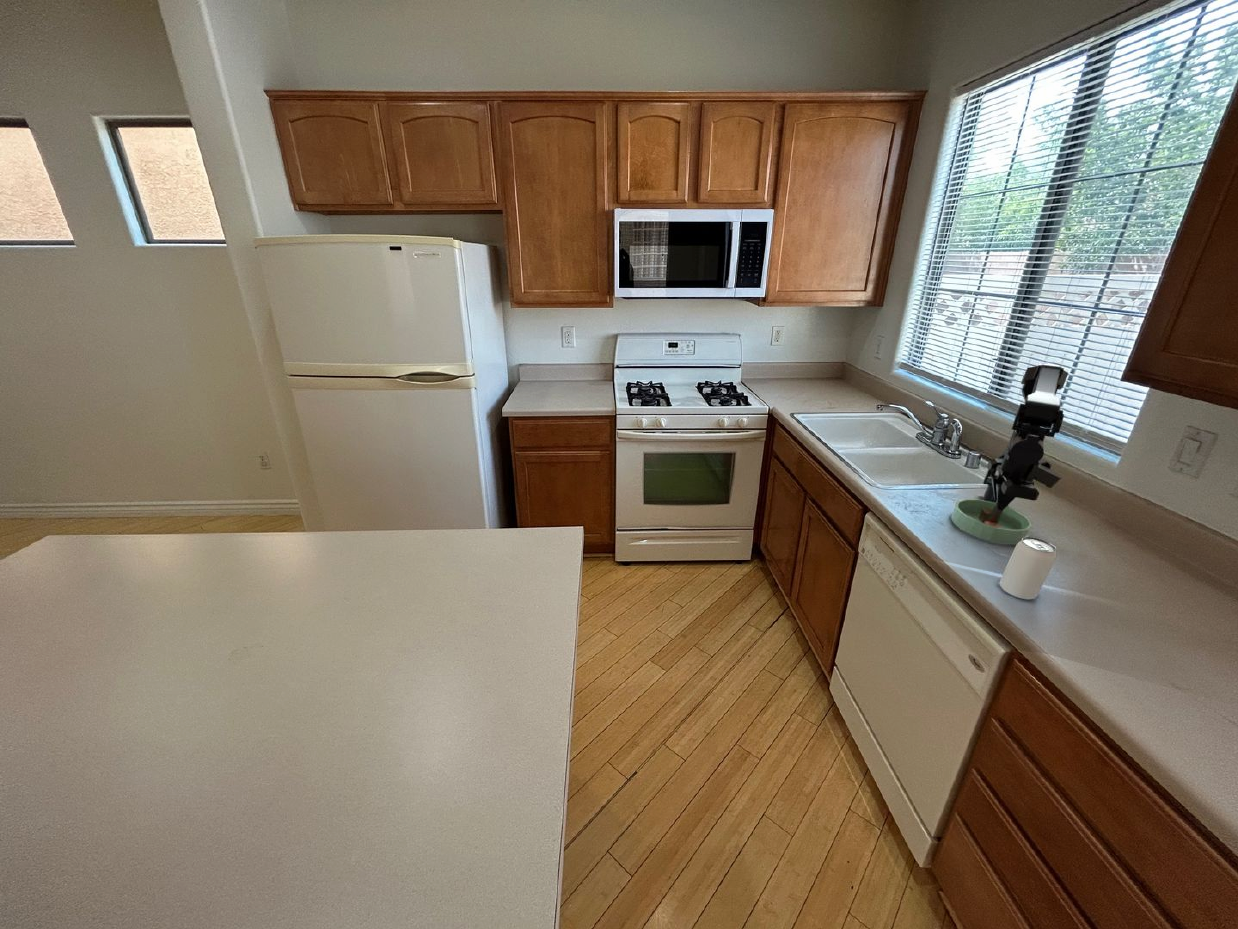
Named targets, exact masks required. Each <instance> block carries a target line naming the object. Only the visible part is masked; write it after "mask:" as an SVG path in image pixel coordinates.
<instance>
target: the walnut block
mask: <svg viewBox="0 0 1238 929" xmlns="http://www.w3.org/2000/svg"><path fill="white" fill-rule="evenodd" d="M991 513H992V510H990V509H985V508H983V509H982V511H981V514H980V516H979V519H980V521H981V522H982V523H985V521H988V520H989V518H990V515H991Z"/></svg>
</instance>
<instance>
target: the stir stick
mask: <svg viewBox="0 0 1238 929" xmlns="http://www.w3.org/2000/svg"><path fill="white" fill-rule="evenodd" d="M1002 512H1003V510H998V509H997V501H996V503H995V506H994V508H993V510H992V513H991V515H990V518H989V520H988V522H993V523H997V524H998V521H999V519H1000V517H1001V514H1002Z"/></svg>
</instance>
